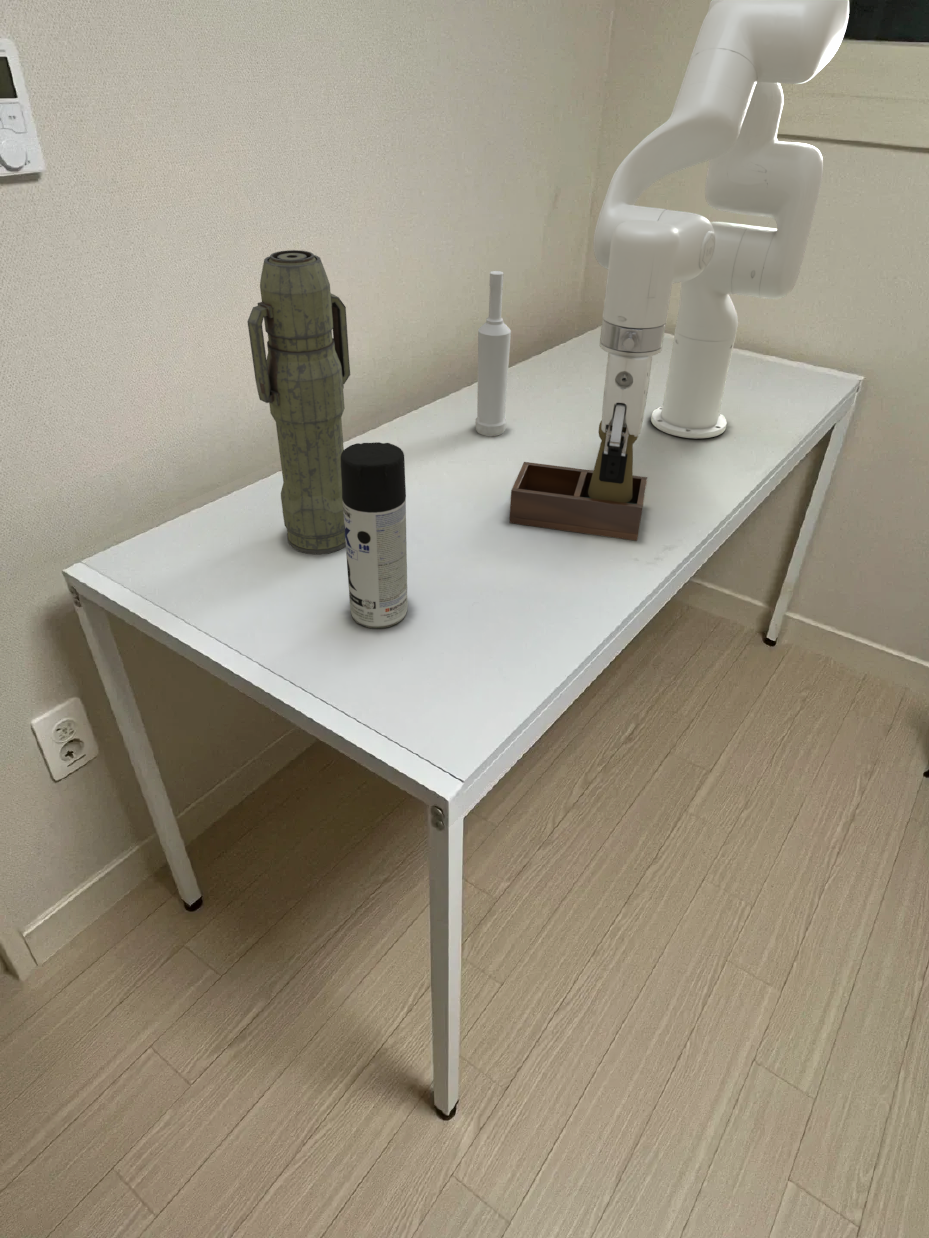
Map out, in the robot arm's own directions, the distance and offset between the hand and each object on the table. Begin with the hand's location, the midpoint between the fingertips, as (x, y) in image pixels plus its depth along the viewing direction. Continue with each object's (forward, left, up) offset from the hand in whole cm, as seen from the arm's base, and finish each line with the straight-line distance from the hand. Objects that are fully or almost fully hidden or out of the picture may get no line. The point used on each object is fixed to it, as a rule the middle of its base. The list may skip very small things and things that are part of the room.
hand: (613, 472), depth 110 cm
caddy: (0, -4, -7) cm, 8 cm away
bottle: (-25, -22, -7) cm, 34 cm away
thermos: (+15, -36, -7) cm, 40 cm away
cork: (0, 0, -3) cm, 3 cm away
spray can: (+29, -23, -7) cm, 38 cm away
